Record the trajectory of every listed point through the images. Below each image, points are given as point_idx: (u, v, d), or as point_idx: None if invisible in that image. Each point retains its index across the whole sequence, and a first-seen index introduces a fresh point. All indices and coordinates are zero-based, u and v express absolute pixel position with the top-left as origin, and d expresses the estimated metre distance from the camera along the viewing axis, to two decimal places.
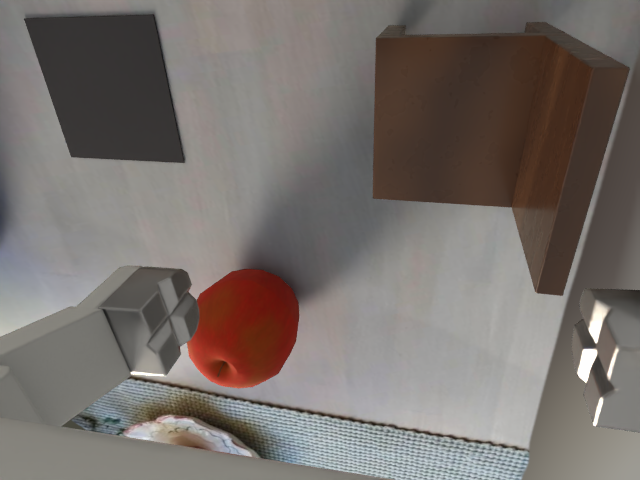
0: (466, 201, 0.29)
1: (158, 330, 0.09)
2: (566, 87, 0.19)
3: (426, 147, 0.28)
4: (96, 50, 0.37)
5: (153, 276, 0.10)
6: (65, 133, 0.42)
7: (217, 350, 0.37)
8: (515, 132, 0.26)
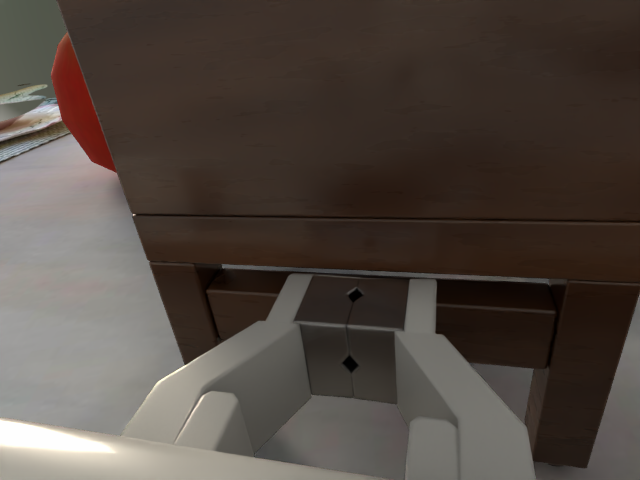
0: None
1: None
2: None
3: None
4: None
5: (336, 286, 0.09)
6: None
7: None
8: None
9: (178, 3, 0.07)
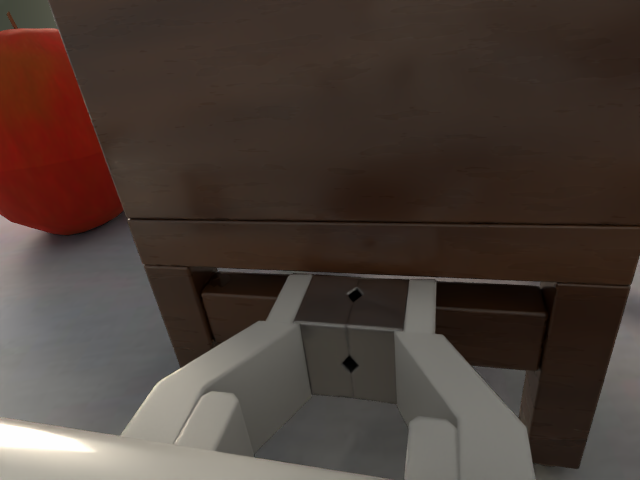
0: None
1: None
2: None
3: None
4: None
5: (336, 285, 0.09)
6: None
7: (49, 30, 0.23)
8: None
9: (170, 11, 0.07)
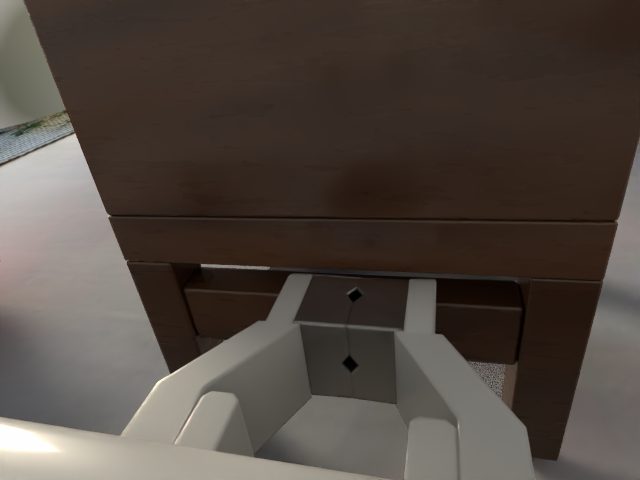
0: None
1: None
2: None
3: None
4: None
5: (336, 286, 0.09)
6: None
7: None
8: None
9: (144, 8, 0.07)
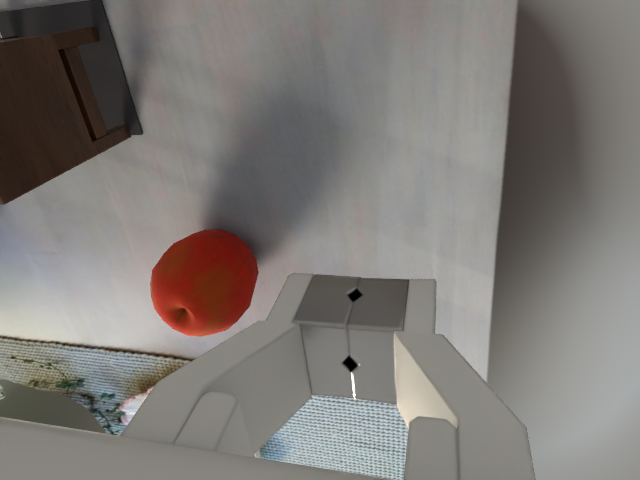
0: None
1: None
2: None
3: None
4: None
5: (336, 286, 0.09)
6: None
7: (175, 297, 0.40)
8: None
9: (44, 149, 0.35)
